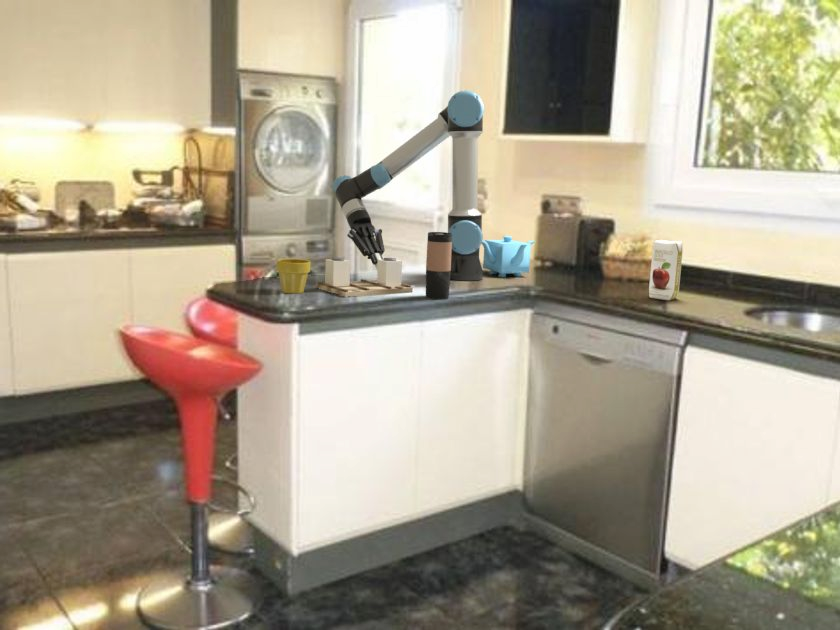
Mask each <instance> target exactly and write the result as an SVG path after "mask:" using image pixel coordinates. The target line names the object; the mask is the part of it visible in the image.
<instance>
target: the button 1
mask: <svg viewBox="0 0 840 630" xmlns="http://www.w3.org/2000/svg"><path fill="white" fill-rule="evenodd" d="M324 271H325V277H324V280H325V281H324V283H326V284H329V285H332V286H336V287H339V286H350V282H351V276H350V275H351V260H349V259H345V257H337V256H336V257H331V258H329V259H325V270H324Z"/></svg>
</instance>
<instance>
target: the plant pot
mask: <svg viewBox="0 0 840 630" xmlns="http://www.w3.org/2000/svg"><path fill="white" fill-rule="evenodd" d="M276 271H277V272H278V276H279V281H280V286H281V292H283V293H285V294H303V293H304V292H305V288H306V283H307V279H308V275H309V273H310V272H311V260H309V259H302V258H279V259H277V260H276Z"/></svg>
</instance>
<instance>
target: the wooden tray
mask: <svg viewBox="0 0 840 630" xmlns="http://www.w3.org/2000/svg"><path fill="white" fill-rule="evenodd" d="M315 285H316V287H315V289H317V288H320V289H323V290H326V291H330V292H333V293H336V294H339V295H338V296H340V295H342V296H341V297H343V296H345V297H344V298H349V297H348V296H357V297H368V296H367V295H370V296H380V295H391V294H392V295H393V294H394V295H395V294H406V293H413V291H414V287H413V286H412V285H411V284H406V283H402V282H401V286H386V285H382V284H379V283H377V279H369V280H367V279H363V278H361V279H360V280H355V281H353V280H352V281H351V280H350V286H339V287H336V286H332V285H329V284H326V283H325V282H321V281H318V282H317V283H316V284H315ZM320 289H319V290H320ZM323 290H322V291H323ZM326 291H325V292H326ZM330 292H329V293H330ZM333 293H332V294H333ZM336 294H335V295H336Z"/></svg>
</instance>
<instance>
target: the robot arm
mask: <svg viewBox="0 0 840 630" xmlns="http://www.w3.org/2000/svg"><path fill="white" fill-rule="evenodd" d="M447 103H448V104H447V106H446V107H445V108H444V109H442V110H441V111H440V112H439V113H438V114H437V117H436V119H434V120H433V121H432V122H431V123H429V124H428V125H426V126H425V127H424V128H423V129H421V130H420V131H419V132H417V133H416V134H415V135H413V136H412V137H411V138H409V139H408V140H406V142H404V143H403V144H402V145H400V146H399V147H398V148H396V149H395V150H394V151H392V152H391V153H389V154H388V155H387V156H386V157H384V158H383V159H382V160H380V161H379V162H378V163H377V164H374V165H372V166H371V167H369V168H367V169H366V170H364V171H362V172H360V174H358V175H356V176H354V177H351V176H350V175H346V174H344V175H343V176H338V177H337V178H336V179H335V180H334V181H333V183H332V189H333V191H334V195H335V198H336V200H337V201H338V204H339V205H340V207H341V211H342V213H343V214H344V216H345V219H346V221H347V224H348V226H349V228H350V230H349V231H348V233H347V237H348V238H349V239H351V241H352V242H353V243H354V245H355V246H356V247H357V249H358V250H359V251H360V253H361V254H362V256H364V257H367V259H368V260H370V261H371V263H372V264H373V265H374V266H375V268H376V270H377V269H378V260H382V259H384V257H383V254H384V252H385V251H386V250H385V249H386V248H385V245H384V240H383V239H384V238H383V235H382V234H383V229H381V228H380V229H376V228H375V226H374V225H373V224H372V218H371V217H370V214H369V212H368V209H367V208H366V205H365V204H364V201H363V200H362V199H363V198H364V197H366V196H368V195H370V194H371V193H374V192H376V191H377V190H381V189H382V188H384V187H385V186H386V185H388V184H389V183H390V182H391V181H392V180H393V179H395V178H396V177H398V175H400V174H401V173H402V172H404V171H406V169H408V168H410V167H411V165H413V164H415V163H416V162H417V161H419V160H420V159H421V158H423V157H424V156H425V155H426V154H428V153H429V152H431V151H432V150H433V149H434V148H436V147H437V146H439V145H440V144H442V143H443V142H444V141H445V140H447V139H448V138H449V137H451V138H452V163H451V164H452V166H451V167H452V175H451V176H452V181H451V183H452V191H451V192H452V193H451V194H452V196H451V197H452V198H451V199H452V201H451V202H452V205H451V206H452V207H451V210H450V211H449V212H448V213H447V233H452V250H451V273H450V280H452V281H453V280H454V281H469V282H470V281H479V280H483V279H484V278H483V277H484V272H483V266H482V264H481V259H480V248H481V245H482V244H481V243H482V241H483V239H484V235H483V229H482V228H483V214H482V212H480V211H479V209H478V204H479V202H478V199H479V198H478V197H479V196H478V194H479V193H478V191H479V189H478V187H479V185H478V184H479V183H478V182H479V180H478V178H479V176H478V175H479V137H480V136H481V135H482V134H483V132H484V131H483V130H484V129H483V128H484V127H483V123H484V112H485V106H484V102H483V100H482V98H481V97H480V96H479V94H477V93H476V92H474V91H472V90H460V91H457V92H456V93H455V94H453V95H452V96H451V98H450V99H449V101H448V102H447Z"/></svg>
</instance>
